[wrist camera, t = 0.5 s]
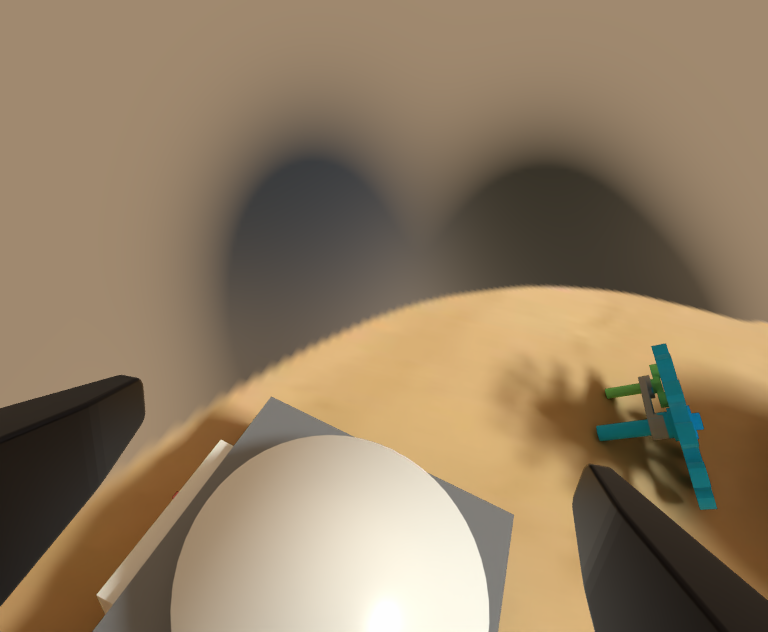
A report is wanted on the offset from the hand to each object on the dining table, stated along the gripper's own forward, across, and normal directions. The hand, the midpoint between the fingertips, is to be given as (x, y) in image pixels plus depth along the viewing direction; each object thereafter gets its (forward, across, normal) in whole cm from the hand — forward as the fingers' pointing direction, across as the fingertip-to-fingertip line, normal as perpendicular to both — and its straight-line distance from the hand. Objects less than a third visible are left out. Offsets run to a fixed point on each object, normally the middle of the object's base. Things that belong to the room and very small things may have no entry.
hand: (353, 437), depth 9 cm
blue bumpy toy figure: (+21, -18, +12) cm, 30 cm away
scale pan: (+4, 0, +10) cm, 11 cm away
